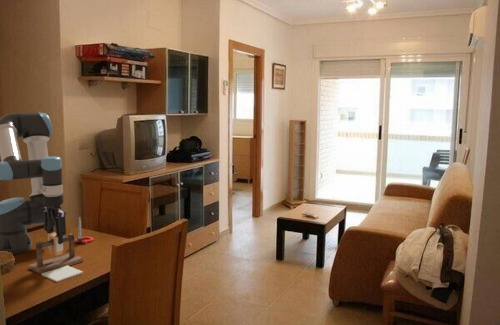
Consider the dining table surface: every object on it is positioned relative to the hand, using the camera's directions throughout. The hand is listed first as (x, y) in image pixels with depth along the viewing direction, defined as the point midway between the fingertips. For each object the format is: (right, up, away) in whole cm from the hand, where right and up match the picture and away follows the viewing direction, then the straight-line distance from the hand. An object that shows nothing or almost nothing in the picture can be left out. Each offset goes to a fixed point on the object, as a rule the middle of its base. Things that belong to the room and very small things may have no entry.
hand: (55, 249), depth 179 cm
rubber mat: (+7, -8, -9) cm, 14 cm away
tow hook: (-1, -3, +32) cm, 32 cm away
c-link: (0, -2, 0) cm, 2 cm away
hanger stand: (0, -7, +1) cm, 7 cm away
